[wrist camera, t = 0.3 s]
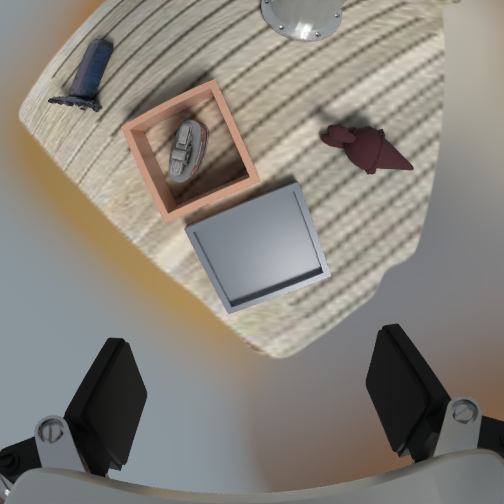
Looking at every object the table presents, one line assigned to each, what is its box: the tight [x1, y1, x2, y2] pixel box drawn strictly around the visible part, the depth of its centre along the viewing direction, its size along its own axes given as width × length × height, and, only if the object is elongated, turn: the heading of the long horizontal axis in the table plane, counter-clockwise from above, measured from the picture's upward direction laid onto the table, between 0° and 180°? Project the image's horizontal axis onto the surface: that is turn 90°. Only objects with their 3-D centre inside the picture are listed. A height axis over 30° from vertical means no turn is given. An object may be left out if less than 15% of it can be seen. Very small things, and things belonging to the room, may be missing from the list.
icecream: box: [321, 125, 414, 175], centre depth 37 cm, size 7×7×15 cm
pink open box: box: [121, 79, 260, 223], centre depth 37 cm, size 15×14×6 cm
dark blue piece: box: [48, 39, 113, 112], centre depth 32 cm, size 9×8×12 cm
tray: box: [185, 181, 331, 314], centre depth 45 cm, size 16×18×2 cm
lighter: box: [169, 120, 209, 183], centre depth 35 cm, size 8×3×10 cm, turn 164°
